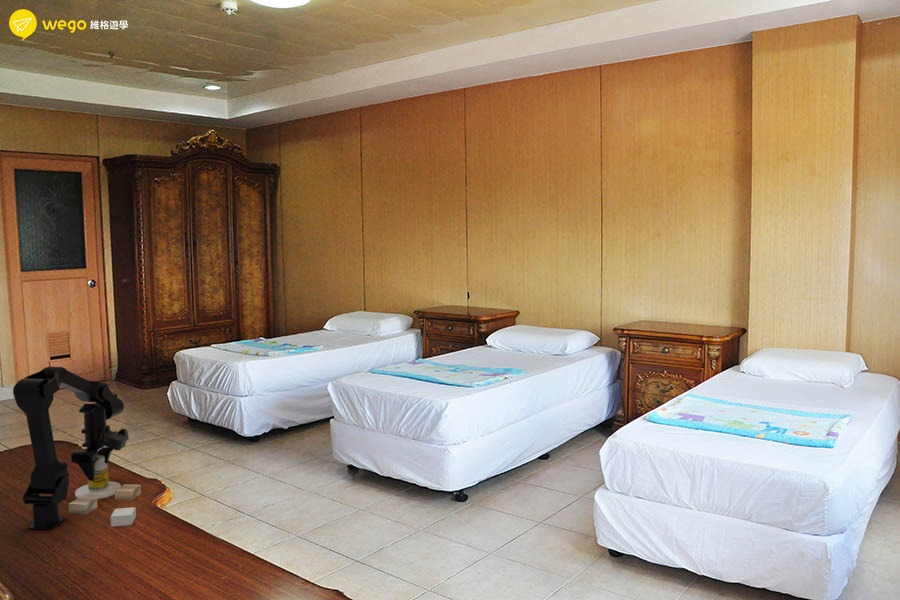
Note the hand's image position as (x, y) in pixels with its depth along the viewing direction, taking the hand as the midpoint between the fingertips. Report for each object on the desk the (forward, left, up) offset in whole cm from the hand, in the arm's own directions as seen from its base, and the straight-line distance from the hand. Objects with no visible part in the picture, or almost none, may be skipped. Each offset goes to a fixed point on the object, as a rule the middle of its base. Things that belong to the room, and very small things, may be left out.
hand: (97, 475), depth 199 cm
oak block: (-4, -10, -5) cm, 12 cm away
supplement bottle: (0, 0, -4) cm, 4 cm away
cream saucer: (0, 0, -5) cm, 5 cm away
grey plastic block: (-21, -16, -5) cm, 27 cm away
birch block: (-13, -2, -5) cm, 14 cm away
